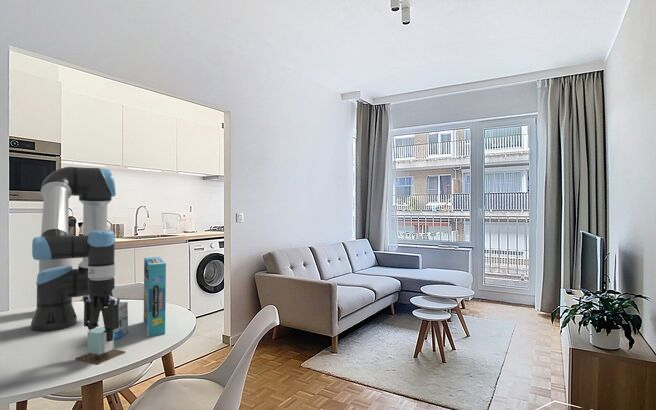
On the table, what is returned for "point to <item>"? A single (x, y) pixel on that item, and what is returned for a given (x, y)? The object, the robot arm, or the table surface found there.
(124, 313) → the ink box
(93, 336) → the mint foam cube
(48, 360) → the table surface
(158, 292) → the game box
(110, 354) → the brown peg stand
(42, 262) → the cylinder vase
